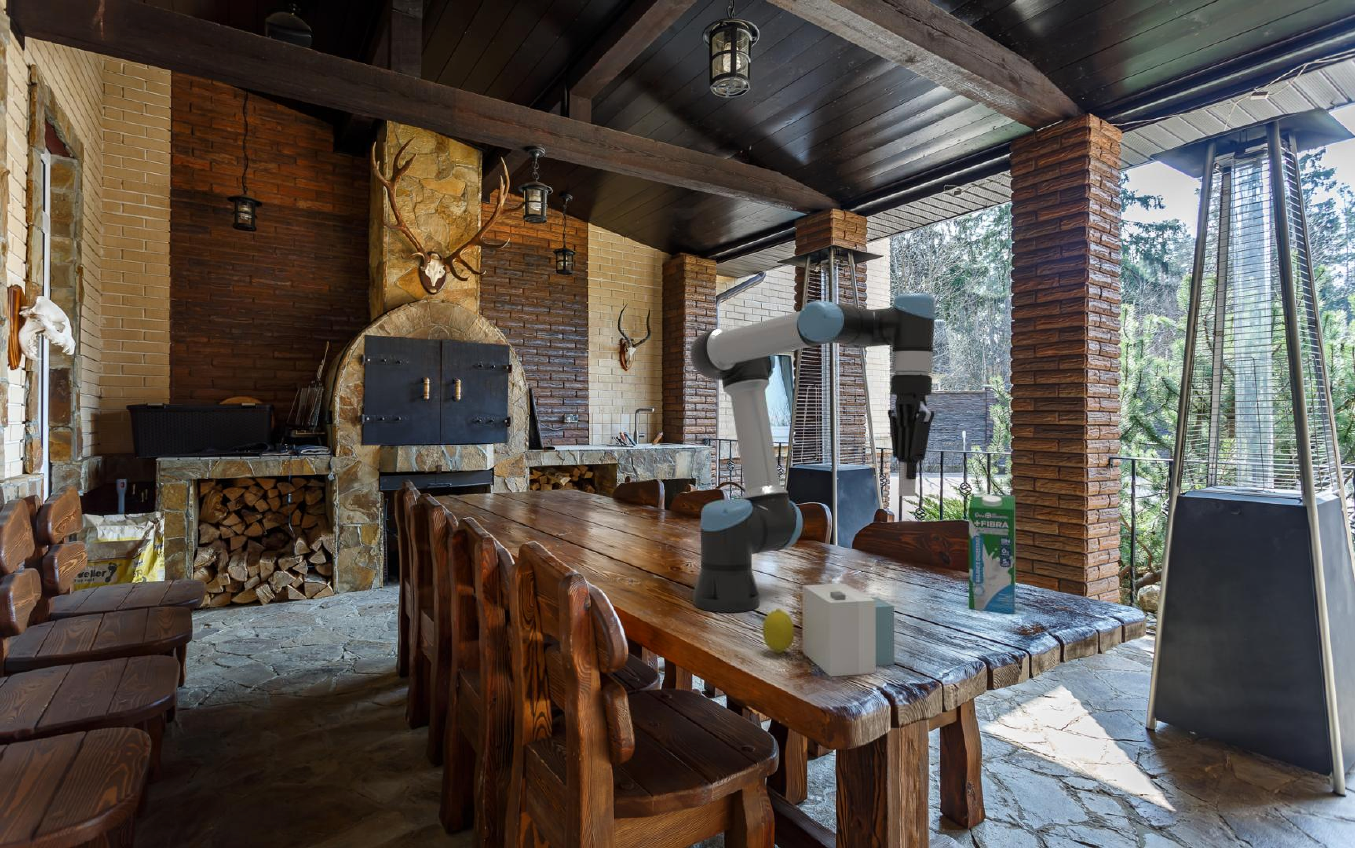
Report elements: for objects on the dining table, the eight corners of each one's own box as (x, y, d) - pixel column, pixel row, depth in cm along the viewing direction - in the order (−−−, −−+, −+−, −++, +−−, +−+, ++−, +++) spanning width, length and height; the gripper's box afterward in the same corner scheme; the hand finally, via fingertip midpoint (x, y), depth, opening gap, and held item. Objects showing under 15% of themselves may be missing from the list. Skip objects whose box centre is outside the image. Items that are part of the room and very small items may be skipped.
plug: (836, 655, 119) (836, 599, 119) (879, 652, 120) (879, 597, 120) (851, 667, 113) (851, 608, 113) (896, 664, 115) (896, 605, 115)
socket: (802, 652, 121) (802, 581, 121) (844, 649, 122) (843, 579, 122) (830, 676, 109) (830, 597, 109) (875, 673, 111) (875, 595, 111)
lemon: (756, 653, 120) (756, 609, 120) (775, 646, 124) (775, 603, 124) (781, 661, 116) (781, 615, 116) (800, 653, 120) (800, 609, 120)
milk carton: (968, 609, 149) (968, 496, 149) (972, 599, 157) (971, 492, 157) (1014, 614, 144) (1014, 498, 144) (1015, 604, 152) (1015, 494, 152)
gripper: (949, 374, 125) (943, 500, 125) (910, 376, 137) (906, 491, 138) (912, 372, 123) (907, 500, 124) (877, 375, 136) (872, 491, 137)
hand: (906, 495), depth 131 cm, fingers closed
